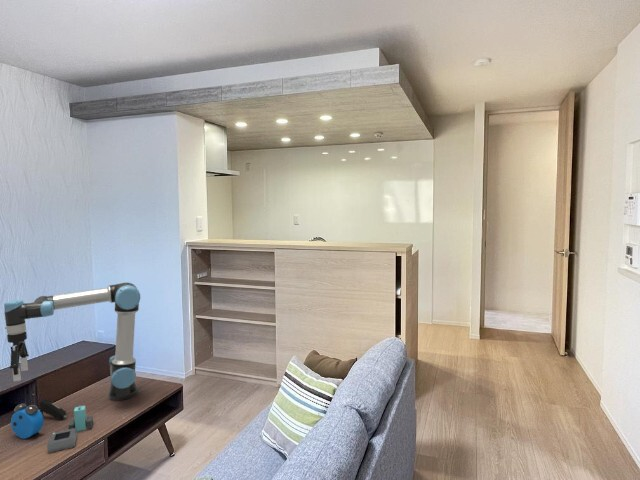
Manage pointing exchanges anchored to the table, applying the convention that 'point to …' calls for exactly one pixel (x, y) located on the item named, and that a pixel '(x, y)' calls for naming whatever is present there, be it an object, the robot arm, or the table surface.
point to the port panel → (62, 440)
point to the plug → (80, 418)
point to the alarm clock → (26, 421)
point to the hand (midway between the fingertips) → (21, 375)
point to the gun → (52, 410)
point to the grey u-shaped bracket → (89, 422)
